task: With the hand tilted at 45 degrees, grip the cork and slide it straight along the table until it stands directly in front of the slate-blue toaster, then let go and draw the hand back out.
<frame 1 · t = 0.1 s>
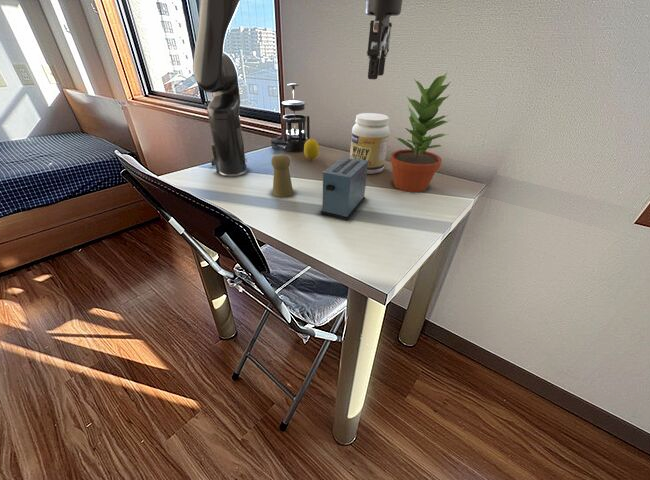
hand: (375, 77, 71), 29 cm above the table, tool pointing down, fingers open, 8 cm apart
french press: (296, 148, 122), on the table
cork: (283, 193, 88), on the table
supplement tub: (366, 169, 104), on the table
lemon: (311, 161, 110), on the table
potted plant: (410, 186, 92), on the table
toaster: (343, 206, 81), on the table
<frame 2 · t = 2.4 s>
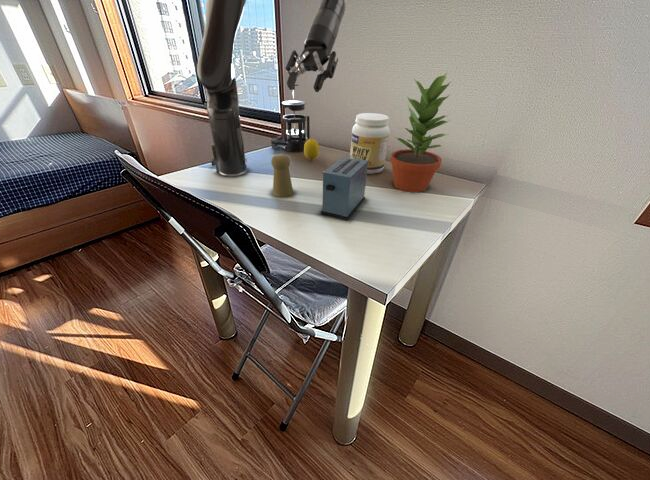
hand: (302, 89, 81), 25 cm above the table, tool tilted 45°, fingers open, 8 cm apart
nothing on the table moved.
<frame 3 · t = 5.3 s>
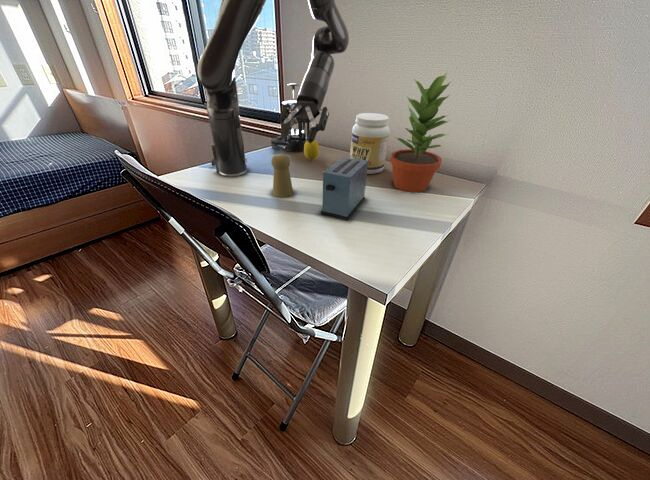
hand: (296, 139, 86), 13 cm above the table, tool tilted 45°, fingers open, 8 cm apart
nothing on the table moved.
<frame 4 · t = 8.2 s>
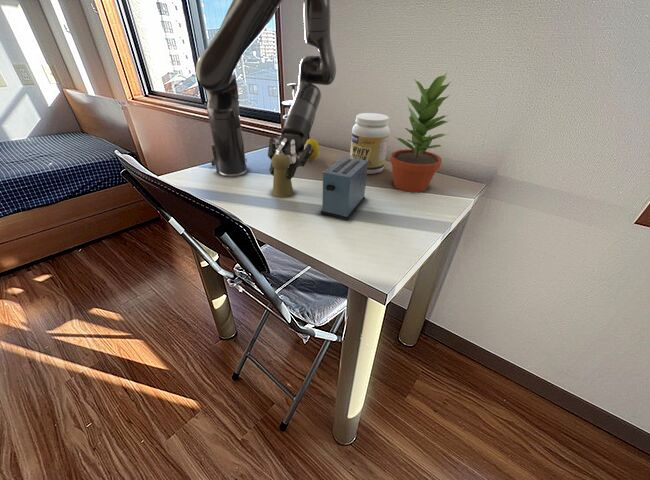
hand: (280, 175, 84), 5 cm above the table, tool tilted 45°, fingers closed on cork, 5 cm apart
cork: (283, 193, 88), on the table, touching gripper
everything else where it was.
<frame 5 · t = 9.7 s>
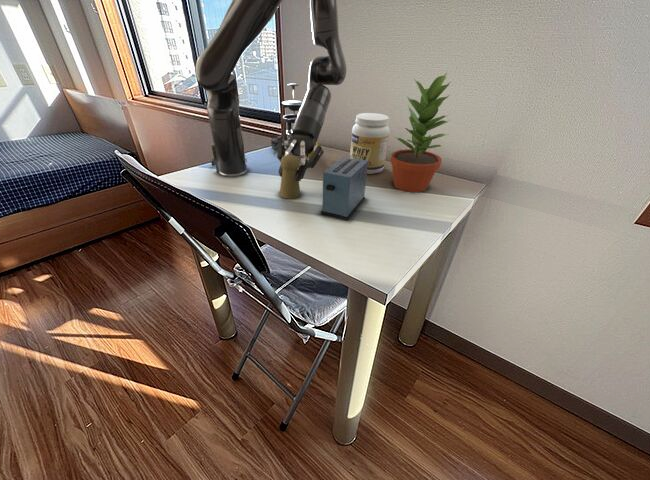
hand: (289, 177, 82), 5 cm above the table, tool tilted 45°, fingers closed on cork, 4 cm apart
cork: (289, 194, 87), on the table, touching gripper
everything else where it was.
when the fingers open (5 cm above the table, at t = 11.3 s): cork stays where it is, on the table.
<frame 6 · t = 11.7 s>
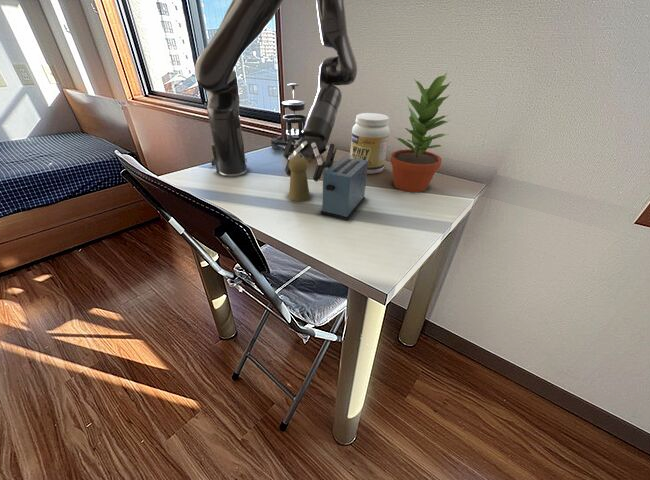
hand: (301, 177, 81), 6 cm above the table, tool tilted 45°, fingers open, 8 cm apart
cork: (299, 197, 86), on the table
everything else where it was.
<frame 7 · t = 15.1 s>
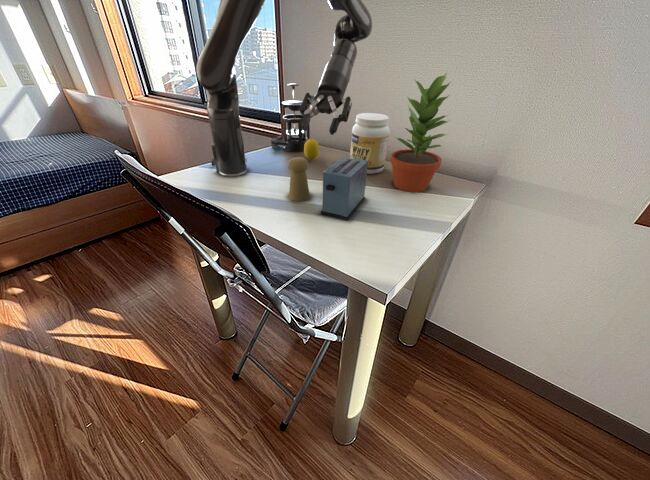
hand: (317, 131, 82), 16 cm above the table, tool tilted 45°, fingers open, 8 cm apart
nothing on the table moved.
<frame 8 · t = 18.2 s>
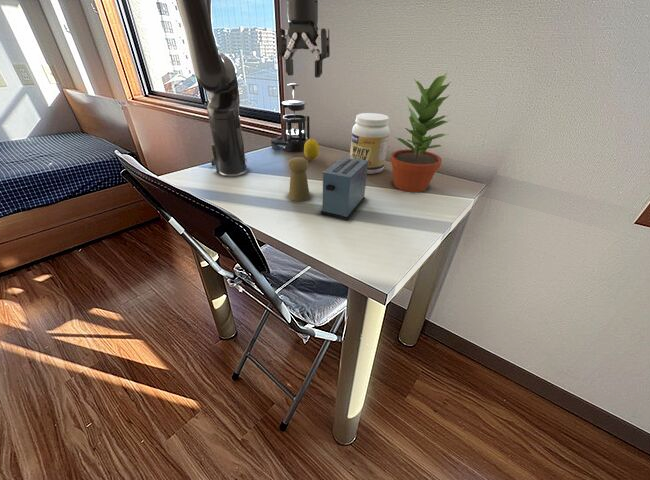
hand: (303, 76, 82), 28 cm above the table, tool pointing down, fingers open, 8 cm apart
nothing on the table moved.
at the end: cork 0.9 cm from the target spot, on the table; cork tilted 0°; the gripper is holding nothing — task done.
